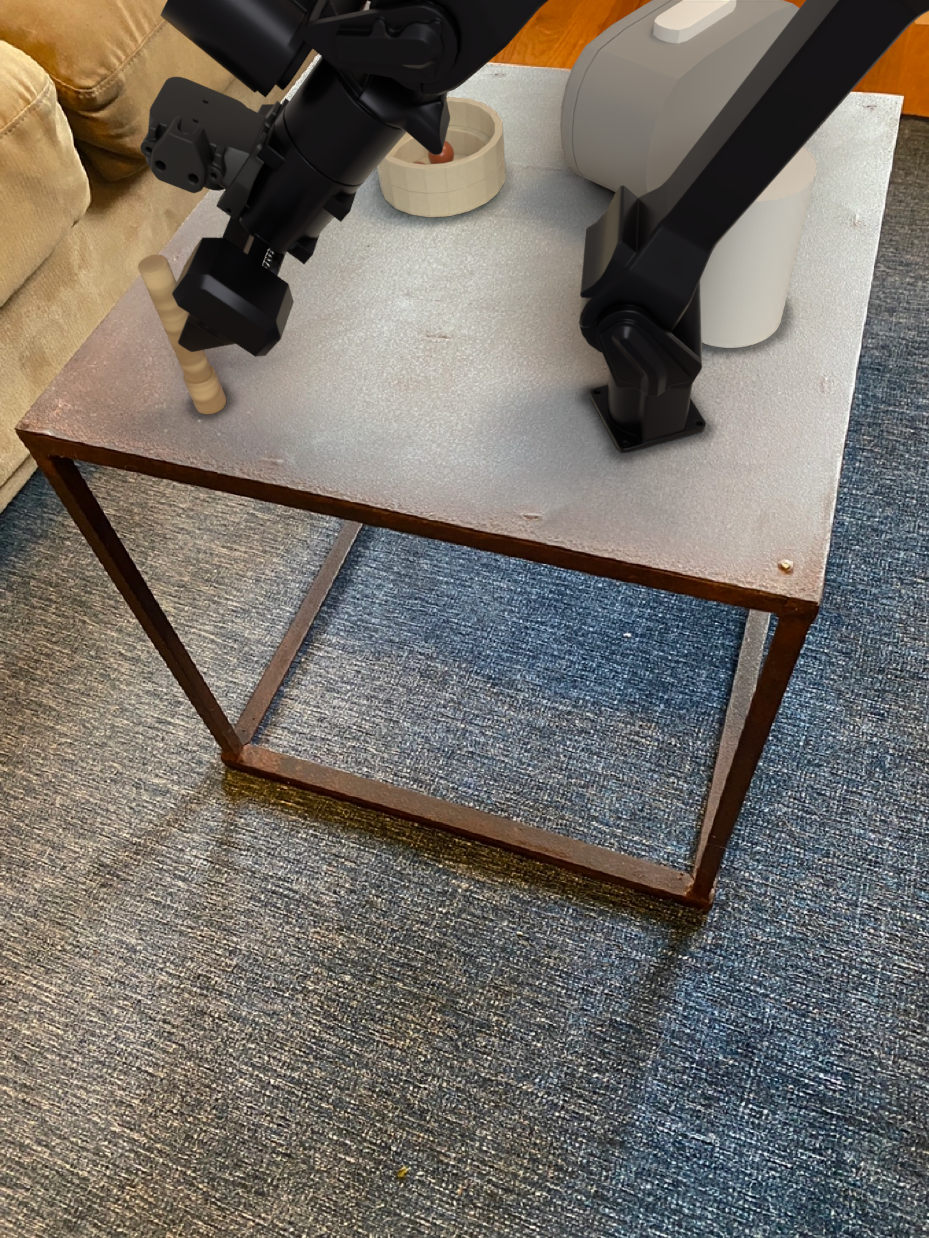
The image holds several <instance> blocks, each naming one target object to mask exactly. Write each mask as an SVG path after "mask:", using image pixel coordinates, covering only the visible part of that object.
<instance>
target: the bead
mask: <svg viewBox="0 0 929 1238" xmlns="http://www.w3.org/2000/svg"><path fill="white" fill-rule="evenodd" d="M428 158H429V161H430V163H431V164H442V163H447V162H451V161H453V159H454V150H453V148H452V146H451V145H450V143H448V142H447V141H445V142H444V147H443V151H442V152H441V154H439V155H433V154H431V153H430V152H429V151H428Z"/></svg>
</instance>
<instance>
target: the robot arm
mask: <svg viewBox="0 0 929 1238" xmlns="http://www.w3.org/2000/svg"><path fill="white" fill-rule="evenodd" d="M367 1H370V5H369V10H364V9H365V6H366V3H367ZM548 2H549V0H167V1H166V2H165V4H164V6H163V8H162V10H161V12H160V17H161V18H162V19H163V20H165V21H166V22H167V23H168V24H170V25H171V26H172V27H173V28H174V29H176V30H177V31H178V32H179V33H180V34H182V35H183V36H185V38H186V39H188V40H189V41H191V42H192V43H193V44H194V45H195V46H197V47H198V48H199V49H200V50H202V51H203V52H204V53H205V54H206V55H208V56H209V57H210V58H211V59H213V61H215V62H216V63H217V64H219V65H220V66H221V67H222V68H224V69H225V71H227V72H229V74H231V76H233V77H234V78H235V79H237V80H238V81H239V82H241V83H242V85H244V86H245V87H247V88H248V89H249V90H251V91H252V92H253V93H255V94H256V93H257V92H258V93H259V94H260V95H261V96H263V97H264V98H267V97H268V96H269V95H270V93H271V92H272V91H273V89H274V88H275V86H277V88H279V89H280V90H281V91H285V90H286V88H288V86H289V85H290V83H291V82H292V81H293V79H294V78H295V76H296V75H297V73H298V72H299V71H300V69H301V68H302V66H303V65H304V63H305V61H306V60H307V58H308V57H309V55H310V53H311V52H312V51H314V52H316V53H317V54H318V55H319V56H320V57H319V58H318V60H317V62H316V63H315V64H314V65H313V67H312V68H311V70H310V71H309V73H308V74H307V76H306V77H305V78H304V80H303V81H302V82H301V84H300V85H299V87H298V89H297V90H296V91H295V92H294V94H293V95H292V97H291V98H290V99H288V98H286V97H285V98H284V100H283V101H282V102H280V101H278V100H276V101H275V102H274V103H270V104H269V103H267V104H266V103H263V104H261V106H259V108H258V110H257V111H255V110H253V109H251V108H249V107H247V105H246V104H244V103H243V102H242V101H240V100H238V99H237V98H234V97H233V96H229V95H227V94H224V93H222V92H219V91H217V90H215V89H212V88H210V87H208V86H205V85H204V84H200V83H198V82H195V81H194V80H191V79H189V78H187V77H186V78H185V77H183V76H171V77H168V78H167V79H166V80H165V81H164V83H163V85H162V86H161V88H160V90H159V92H158V93H157V95H156V97H155V99H154V101H153V102H152V104H151V106H150V108H149V113H148V126H147V133H146V135H145V136H144V138H143V140H142V142H141V144H140V146H139V147H140V152H141V154H142V155H143V156H144V157H145V162H146V165H148V167H150V171H151V173H152V174H153V176H154V177H155V179H157V180H158V181H160V182H163V183H165V184H168V185H170V186H173V187H176V188H179V189H180V190H184V191H186V192H188V193H191V194H197V193H199V192H201V191H202V190H203V189H204V188H205V189H207V190H210V191H217V192H219V191H223V192H222V194H221V195H220V196H219V199H218V201H217V203H216V206H215V207H217V208H218V209H219V210H221V211H222V212H223V213H225V214H226V215H228V216H229V219H228V222H227V224H226V227H225V228H224V231H223V234H222V236H221V237H216V236H215V237H214V236H212V237H210V236H207V237H205V236H203V237H202V238H201V239H200V240H199V241H198V243H197V244H196V246H195V247H194V249H193V250H192V251H191V253H190V255H189V257H188V258H187V260H186V262H185V263H184V265H183V268H182V270H181V272H180V275H179V277H178V279H177V280H176V282H177V283H176V285H175V287H174V290H173V292H172V295H173V297H174V299H175V301H176V303H177V305H178V306H179V307H180V308H182V309H183V310H185V311H186V312H188V313H189V314H188V317H187V319H186V322H185V324H184V327H183V329H182V332H181V334H180V337H179V340H178V344H179V345H180V346H182V347H183V348H185V349H186V350H188V351H190V352H196V351H201V350H204V351H206V350H211V349H215V348H216V349H217V348H221V347H227V346H230V345H231V346H232V345H237V346H238V347H239V348H241V349H242V350H244V351H245V352H247V353H249V354H250V355H251V356H253V357H255V358H257V357H258V358H259V357H266V356H267V355H268V354H269V353H270V351H272V349H274V348H275V347H276V346H277V344H278V343H279V342H280V341H281V340H282V337H283V335H284V332H285V329H286V326H287V324H288V320H289V317H290V314H291V311H292V309H293V304H294V303H295V302H294V297H293V295H292V290H291V287H290V284H289V283H288V282H287V281H285V280H284V279H283V278H282V277H280V276H279V273H280V271H281V269H282V265H283V263H284V259H285V257H286V254H287V253H288V254H289V255H290V256H292V257H294V258H295V260H297V261H299V262H300V263H301V264H302V265H306V263H307V262H309V260H310V259H311V258H312V257H313V255H314V252H315V250H316V247H317V244H318V241H319V237H320V235H321V233H322V232H323V231H324V230H325V229H326V228H327V226H328V225H329V224H330V223H331V221H333V219H334V218H335V219H336V220H337V221H339V222H340V223H342V222H343V221H344V219H345V218H346V217H347V216H348V215H349V214H350V212H351V210H352V209H353V205H354V201H355V198H356V195H357V192H358V190H359V189H360V187H361V186H362V185H363V184H364V183H365V182H366V181H367V179H368V178H369V177H370V176H371V175H372V174H373V172H374V171H375V170H377V166H378V165H379V164H380V163H381V162H382V160H383V159H384V158H385V157H386V156H387V154H388V153H389V152H390V151H391V150H392V149H393V147H394V146H395V145H396V144H397V143H398V142H399V140H400V139H401V138H402V137H403V136H404V134H405V133H406V132H407V133H408V134H409V135H411V136H412V137H413V138H414V139H415V140H416V141H417V142H419V143H420V144H421V145H422V146H423V147H424V148H425V149H427V150H428V151H429V152H430V153H431V154H433V155H439V154H441V152H442V151H443V147H444V142H445V138H446V134H447V130H448V126H449V122H450V114H449V110H448V104H447V97H448V93H449V92H452V91H455V90H456V89H458V88H459V87H461V86H462V85H463V84H465V83H466V82H467V81H468V80H469V79H470V78H471V77H473V76H474V75H475V74H476V73H477V72H479V71H480V70H481V69H482V68H484V67H485V65H487V64H488V63H489V62H490V61H492V60H493V59H494V58H495V57H496V56H497V55H498V54H499V53H501V52H502V51H503V50H504V49H505V48H507V46H508V45H509V44H511V42H512V41H513V40H514V38H515V37H516V36H517V35H518V34H519V33H520V31H521V30H523V28H524V27H525V26H526V25H527V24H528V23H529V21H530V20H531V19H532V18H533V17H534V16H535V15H536V13H537V12H538V11H539V10H540V9H541V8H542V7H543V6H544V5H545V4H546V3H548ZM799 8H800V9H799V10H798V11H797V12H796V14H795V15H794V16H793V18H792V19H791V20H790V22H789V23H788V24H787V25H786V27H785V28H784V29H783V31H782V32H781V33H780V35H779V36H778V37H777V38H776V40H775V41H774V42H773V44H772V45H771V46H770V48H769V49H768V50H767V51H766V53H765V54H764V55H763V57H762V58H761V59H760V61H759V62H758V63H757V64H756V66H755V67H754V68H753V70H752V71H751V72H750V73H749V75H748V76H747V77H746V79H745V80H744V81H743V83H742V84H741V85H740V86H739V88H738V89H737V90H736V92H735V93H734V94H733V96H732V97H731V98H730V99H729V101H728V102H727V103H726V105H725V106H724V107H723V109H722V110H721V111H720V112H719V114H718V115H717V116H716V118H715V119H714V120H713V122H712V123H711V124H710V125H709V127H708V128H707V129H706V131H705V132H704V133H703V134H702V136H701V137H700V138H699V140H698V141H697V142H696V144H695V145H694V146H693V147H692V149H691V150H690V151H689V153H688V154H687V155H686V157H685V158H684V159H683V160H682V162H681V163H680V164H679V166H678V167H677V168H676V170H675V171H674V172H673V173H672V175H671V176H670V177H669V179H668V180H667V181H666V182H665V183H663V184H662V185H661V186H660V187H658V188H656V189H654V190H652V191H650V192H648V193H646V194H644V195H642V196H640V197H637V196H636V195H635V194H633V193H632V192H631V191H630V190H629V189H628V188H626V187H625V186H623V185H622V186H620V187H619V189H618V190H617V191H616V192H614V196H613V197H612V199H611V201H610V203H609V205H608V207H607V209H606V210H605V212H604V214H602V216H601V217H600V218H599V219H598V220H597V221H596V222H594V223H592V224H591V225H590V226H588V227H586V229H585V234H584V235H585V236H584V247H583V259H582V269H581V281H580V282H581V283H580V294H579V296H580V306H579V316H578V325H579V330H580V332H581V336H582V337H583V338H584V340H585V341H586V342H587V344H588V346H590V347H591V348H593V349H595V350H596V351H597V352H599V353H601V354H602V355H603V356H602V357H603V358H604V360H605V361H604V362H605V364H606V365H607V368H608V381H607V382H608V383H607V384H605V385H602V386H597V387H595V388H592V389H591V390H590V394H589V395H590V396H589V397H590V400H591V402H592V404H593V405H594V407H595V410H596V411H597V413H598V415H599V417H600V419H601V421H602V423H603V425H604V426H605V428H606V430H607V431H608V434H609V435H610V438H611V439H612V441H613V444H614V445H615V447H616V448H617V450H618V452H620V453H622V454H629V453H632V452H636V451H639V450H643V449H646V448H650V447H653V446H657V445H660V444H664V443H668V442H671V441H672V442H673V441H675V440H678V439H683V438H686V437H689V436H693V435H697V434H700V433H703V432H705V430H706V426H707V424H706V423H707V422H706V420H705V419H704V417H703V415H702V413H700V411H699V409H698V408H697V406H696V405H695V403H694V401H693V400H692V398H691V396H692V391H693V390H692V389H693V384H694V382H695V380H696V379H697V377H698V376H699V374H700V373H701V371H702V370H703V347H702V346H703V345H702V344H703V343H702V338H701V294H700V279H701V277H702V274H703V272H704V270H705V267H706V265H707V263H708V260H709V258H710V256H711V253H712V251H713V250H714V248H715V247H716V245H717V244H718V242H719V241H720V240H721V239H722V238H723V237H724V236H725V234H726V233H727V232H728V231H729V230H730V229H731V228H732V226H733V225H734V224H735V223H736V222H737V221H738V220H739V218H740V217H741V216H742V215H743V214H744V213H745V212H746V211H747V209H748V208H749V207H750V206H751V205H752V204H753V203H754V201H755V200H756V199H757V198H758V197H759V196H760V195H761V193H762V192H763V191H764V190H765V189H766V188H767V187H768V186H769V184H770V183H771V182H772V181H773V180H774V179H775V178H776V176H777V175H778V174H779V173H780V172H781V171H782V170H783V168H784V167H785V166H786V165H787V164H788V163H789V162H790V161H791V159H792V158H793V157H794V156H795V155H796V154H797V153H798V151H799V150H800V149H801V148H802V147H803V146H804V147H805V145H806V144H807V143H808V141H810V139H811V138H812V137H813V136H814V134H816V132H817V131H818V130H819V129H820V128H821V127H822V125H824V123H825V122H827V120H828V119H829V118H830V116H831V115H832V114H833V113H834V112H835V111H836V109H837V108H839V106H840V105H841V104H842V103H843V102H844V100H845V99H846V98H847V97H848V96H849V95H850V93H851V92H852V91H854V89H855V88H856V87H857V86H858V85H859V84H860V83H861V81H862V80H863V79H864V77H866V75H867V74H868V73H869V72H870V71H871V70H872V69H873V68H874V66H875V65H876V64H877V63H878V62H879V61H880V60H881V59H882V57H883V56H884V55H885V54H886V53H887V52H888V50H889V49H890V48H891V47H892V46H893V45H894V44H895V43H896V42H897V40H898V39H899V38H900V37H901V36H902V35H903V33H904V32H905V31H906V30H908V28H909V27H910V26H911V25H912V24H913V23H914V22H916V20H918V19H919V18H920V17H922V16H923V15H924V14H927V13H928V12H929V0H805V1H804V2H803V3H802V4H801V6H800V7H799Z"/></svg>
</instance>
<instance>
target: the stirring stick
mask: <svg viewBox="0 0 929 1238" xmlns="http://www.w3.org/2000/svg"><path fill="white" fill-rule="evenodd" d="M137 269H138V272H139V274H140V276H141V279H142V281H143V284H144V285H145V288H146V290H147V292H148V295H149V297H150V300H151V302H152V303H153V306H154V309H155V311H156V313H157V315H158V317H159V320H160V322H161V325H162V327H163V329H164V332H165V334H166V336H167V338H168V341H169V343H170V345H171V348H172V350H173V352H174V354H175V357H176V359H177V361H178V364H179V366H180V368H181V371H182V372H183V376H182V379H183V382H184V384H185V387H186V389H187V391H188V393H189V395H190V398H191V400H192V403H193V404H194V407H195V409H196V411H197V412H198V413H200V414H203V415H213V414H216V413H218V412H220V411H222V410H223V409H224V407H225V406H226V404H227V397H226V395H225V392H224V390H223V387H222V384H221V382H220V379H219V377H218V375H217V371H216V369H215V368H214V366H213V365H211V364H210V362H209V359H208V357H207V355H206V352H205V350H201V351H196V352H190V351H188V350H186V349H185V348H183V347H182V346H180V345H179V344H178V340H179V337H180V334H181V332H182V329H183V327H184V324H185V322H186V319H187V317H188V314H189V313H188V312H186V311H185V310H183V309H182V308H180V307H179V306H178V305H177V303H176V301H175V299H174V297H173V295H172V292H173V290H174V287H175V285H176V283H177V280H176V277H175V275H174V273H173V269H172V268H171V265H170V262H169V260H168V258H167V257H166V256H165V255H162V254H150V255H148V256H145V257H143V258H142V259H141V260H140V261H139V263H138V265H137Z"/></svg>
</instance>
